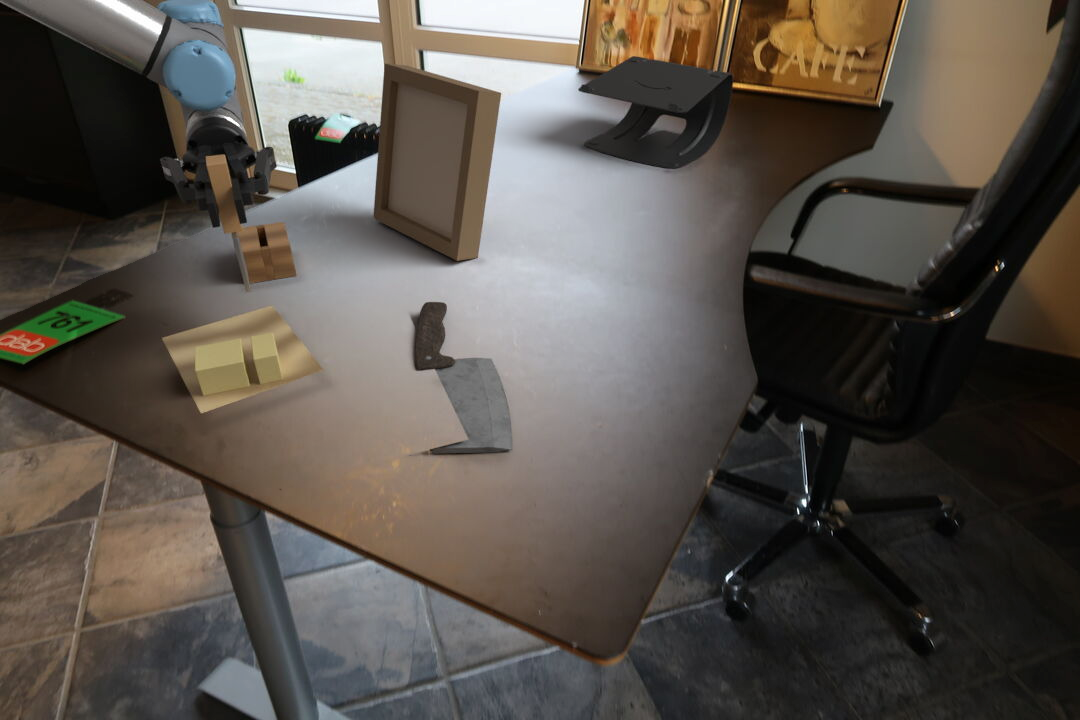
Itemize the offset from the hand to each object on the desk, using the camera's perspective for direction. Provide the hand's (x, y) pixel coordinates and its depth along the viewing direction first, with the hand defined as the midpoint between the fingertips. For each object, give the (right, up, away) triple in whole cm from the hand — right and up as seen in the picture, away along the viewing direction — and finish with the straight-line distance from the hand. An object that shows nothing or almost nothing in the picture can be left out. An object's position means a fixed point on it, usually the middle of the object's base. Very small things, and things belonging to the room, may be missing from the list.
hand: (227, 213), depth 75 cm
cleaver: (+23, -18, +10) cm, 31 cm away
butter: (-3, -18, +7) cm, 19 cm away
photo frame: (+18, +6, +44) cm, 48 cm away
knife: (-2, -6, +11) cm, 12 cm away
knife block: (-8, -1, +32) cm, 33 cm away
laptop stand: (+58, +32, +81) cm, 104 cm away
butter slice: (+1, -17, +8) cm, 19 cm away
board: (-3, -16, +12) cm, 20 cm away
